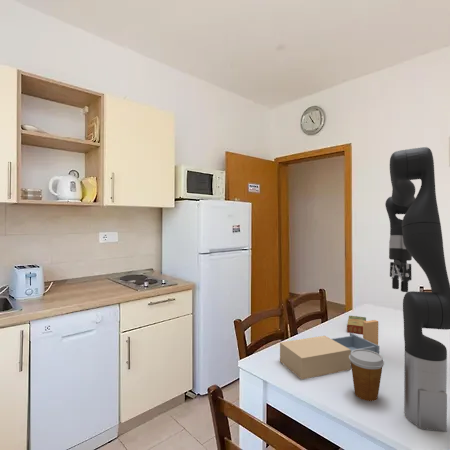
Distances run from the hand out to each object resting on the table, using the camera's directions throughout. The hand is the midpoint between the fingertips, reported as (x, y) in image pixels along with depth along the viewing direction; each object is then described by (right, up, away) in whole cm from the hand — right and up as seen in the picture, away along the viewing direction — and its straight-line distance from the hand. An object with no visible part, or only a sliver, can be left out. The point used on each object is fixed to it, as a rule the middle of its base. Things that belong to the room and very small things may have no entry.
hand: (399, 290), depth 116 cm
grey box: (-19, -25, 0) cm, 32 cm away
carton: (-2, -26, +33) cm, 42 cm away
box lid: (-34, -26, -6) cm, 43 cm away
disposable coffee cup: (-24, -26, -25) cm, 44 cm away
